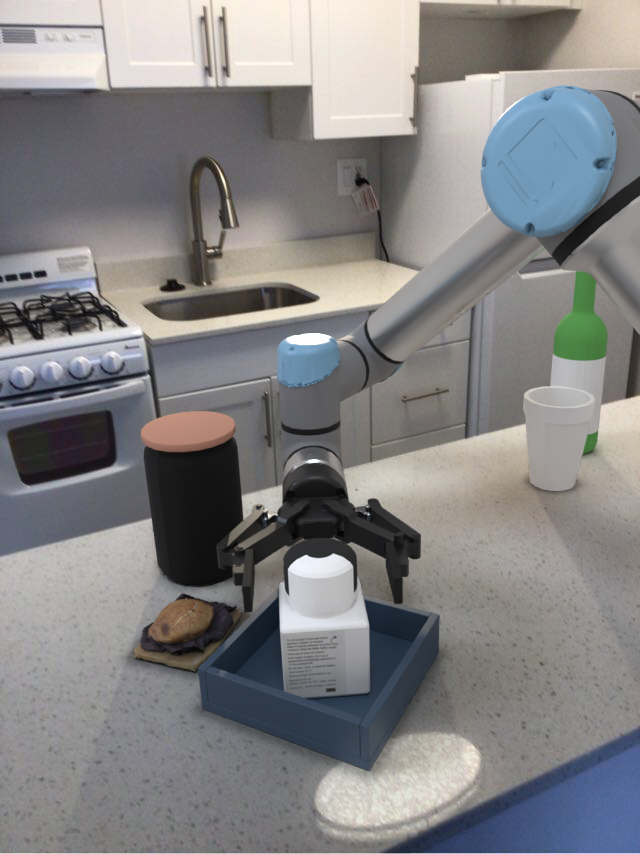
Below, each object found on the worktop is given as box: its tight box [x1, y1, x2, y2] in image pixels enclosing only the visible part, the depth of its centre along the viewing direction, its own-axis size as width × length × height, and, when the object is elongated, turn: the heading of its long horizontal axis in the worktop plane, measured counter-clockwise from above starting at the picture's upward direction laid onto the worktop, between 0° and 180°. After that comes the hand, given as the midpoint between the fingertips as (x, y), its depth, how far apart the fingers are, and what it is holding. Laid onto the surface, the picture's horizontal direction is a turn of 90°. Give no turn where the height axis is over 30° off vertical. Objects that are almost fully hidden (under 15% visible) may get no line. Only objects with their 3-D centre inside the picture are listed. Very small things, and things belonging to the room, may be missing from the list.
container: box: [278, 538, 370, 699], centre depth 69 cm, size 8×8×13 cm
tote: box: [197, 587, 441, 772], centre depth 71 cm, size 17×17×4 cm
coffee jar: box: [140, 410, 245, 587], centre depth 88 cm, size 11×11×18 cm
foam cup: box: [522, 385, 595, 492], centre depth 107 cm, size 10×9×13 cm
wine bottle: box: [549, 271, 609, 455], centre depth 116 cm, size 8×8×30 cm
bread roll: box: [132, 593, 242, 672], centre depth 78 cm, size 11×8×4 cm
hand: (323, 595), depth 68 cm, fingers open, 13 cm apart
